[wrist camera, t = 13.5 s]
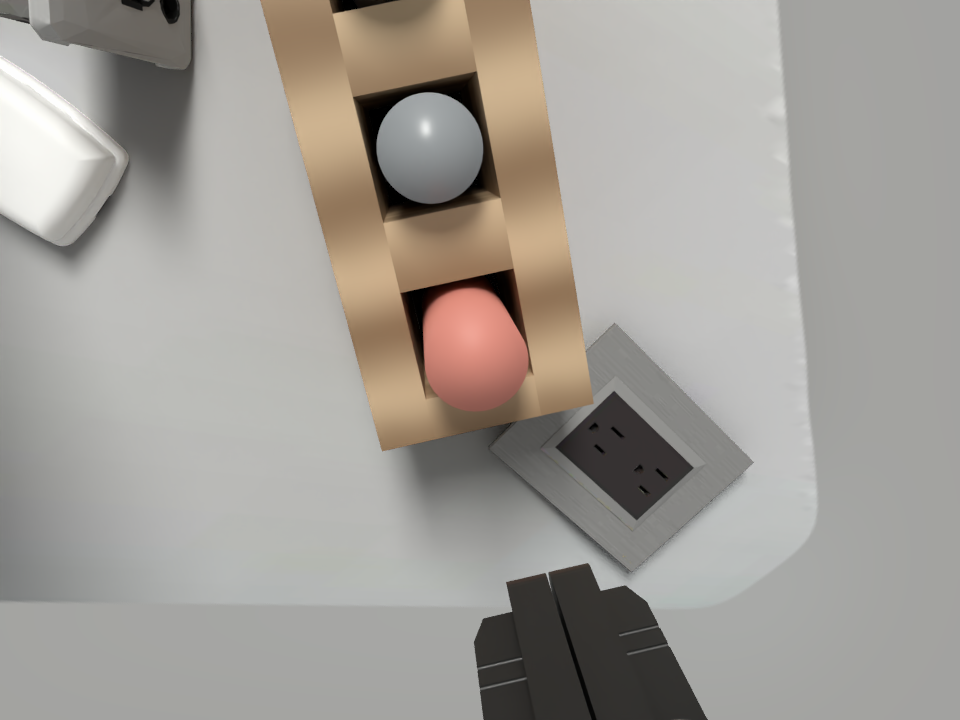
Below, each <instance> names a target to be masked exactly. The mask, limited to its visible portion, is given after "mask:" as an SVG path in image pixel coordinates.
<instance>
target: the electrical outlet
mask: <svg viewBox="0 0 960 720" xmlns="http://www.w3.org/2000/svg"><path fill="white" fill-rule="evenodd" d="M586 358H587V364H588V370H589V377H590V383H591V389H592V395H593V402H594V404H591V405H587V406H582V407H578V408H573V409H569V410H565V411H560V412H556V413H551V414H547V415H542V416H538V417H533V418H529V419H524V420H520V421H515V422H513V423H512V424H511V425H510V426H509V427H508V428H507V429H506V430H505V431H504V432H503V433H502V434H501V435H500V436H499V437H498V438H497V439H496V440H495V441H494V442H493V443H492V444H491V445H490V446H489V449H490V450H491V451H492V452H493V453H494V454H495V455H497V456H498V457H499V458H500V459H501V460H502V461H503V462H505V463H506V464H507V465H508V466H509V467H510V468H512V469H513V470H514V471H515V472H516V473H517V474H519V475H520V476H521V477H522V478H523V479H524V480H525V481H527V482H528V483H529V484H530V485H531V486H532V487H534V488H535V489H536V490H537V491H538V492H539V493H540V494H542V495H543V496H544V497H545V498H546V499H547V500H549V501H550V502H551V503H552V504H553V505H554V506H556V507H557V508H558V509H559V510H560V511H561V512H562V513H564V514H565V515H566V516H567V517H568V518H569V519H571V520H572V521H573V522H574V523H575V524H576V525H577V526H579V527H580V528H581V529H582V530H583V531H584V532H586V533H587V534H588V535H589V536H590V537H591V538H592V539H594V540H595V541H596V542H597V543H598V544H599V545H601V546H602V547H603V548H604V549H605V550H606V551H608V552H609V553H610V554H611V555H612V556H613V557H614V558H616V559H617V560H618V561H619V562H620V563H621V564H623V565H624V566H625V567H626V568H627V569H628V570H629V571H631V572H633V571H634V570H635V569H636V568H637V567H638V566H639V565H640V564H641V563H643V562H644V561H645V560H646V559H647V558H648V557H649V556H650V555H651V554H653V553H654V552H655V551H656V550H657V549H658V548H659V547H660V546H661V545H663V544H664V543H665V542H666V541H667V540H668V539H669V538H670V537H671V536H673V535H674V534H675V533H676V532H677V531H678V530H679V529H680V528H681V527H683V526H684V525H685V524H686V523H687V522H688V521H689V520H690V519H691V518H693V517H694V516H695V515H696V514H697V513H698V512H699V511H700V510H701V509H703V508H704V507H705V506H706V505H707V504H708V503H709V502H710V501H711V500H713V499H714V498H715V497H716V496H717V495H718V494H719V493H720V492H721V491H723V490H724V489H725V488H726V487H727V486H728V485H729V484H730V483H731V482H733V481H734V480H735V479H736V478H737V477H738V476H739V475H740V474H741V473H743V472H744V471H745V470H746V469H747V468H748V467H749V466H750V465H751V464H753V463H754V462H753V461H752V460H751V459H750V458H749V457H748V456H747V455H746V454H745V453H744V452H743V451H742V450H741V449H740V448H739V447H738V446H737V445H736V444H735V443H734V442H733V441H732V440H731V439H730V438H729V437H728V436H727V435H726V434H725V433H724V432H723V431H722V430H721V429H720V428H719V427H718V426H717V425H716V424H715V423H714V422H713V421H712V420H711V419H710V418H709V417H708V416H707V415H706V414H705V413H704V412H703V411H702V410H701V409H700V408H699V407H698V406H697V405H696V404H695V403H694V402H693V401H692V400H691V399H690V398H689V397H688V396H687V395H686V394H685V393H684V392H683V391H682V390H681V389H680V388H679V387H678V386H677V385H676V384H675V383H674V382H673V381H672V380H671V379H670V378H669V377H668V376H667V375H666V374H665V373H664V372H663V371H662V370H661V369H660V368H659V367H658V366H657V365H656V364H655V363H654V362H653V361H652V360H651V359H650V358H649V357H648V356H647V355H646V353H645V352H644V351H643V350H642V349H641V348H640V347H639V346H638V345H637V344H636V343H635V342H634V341H633V340H632V339H631V338H630V337H629V336H628V335H627V334H626V333H625V332H624V331H623V330H622V329H621V328H620V327H619V326H618V325H617V324H615V323H614V324H613V325H612V326H611V327H610V328H609V329H608V330H607V331H606V332H605V333H604V334H603V335H602V336H601V337H600V338H599V339H598V340H597V341H596V342H595V343H594V344H593V345H592V346H591V347H590V348H589V349H588V350H587V351H586Z"/></svg>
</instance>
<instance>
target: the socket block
mask: <svg viewBox="0 0 960 720" xmlns="http://www.w3.org/2000/svg"><path fill="white" fill-rule="evenodd" d="M260 1H261V5H262V8H263V12H264V16H265V19H266V23H267V27H268V31H269V34H270V38H271V42H272V45H273V49H274V53H275V57H276V60H277V64H278V68H279V71H280V75H281V79H282V82H283V86H284V90H285V94H286V97H287V101H288V105H289V108H290V112H291V116H292V119H293V123H294V127H295V131H296V134H297V138H298V142H299V145H300V149H301V153H302V156H303V160H304V164H305V168H306V171H307V175H308V179H309V182H310V186H311V190H312V194H313V197H314V201H315V205H316V208H317V212H318V216H319V219H320V223H321V227H322V231H323V234H324V238H325V242H326V245H327V249H328V253H329V256H330V260H331V264H332V268H333V271H334V275H335V279H336V282H337V286H338V290H339V294H340V297H341V301H342V305H343V308H344V312H345V316H346V319H347V323H348V327H349V331H350V334H351V338H352V342H353V345H354V349H355V353H356V356H357V360H358V364H359V368H360V371H361V375H362V379H363V382H364V386H365V390H366V394H367V397H368V401H369V405H370V408H371V412H372V416H373V419H374V423H375V427H376V431H377V434H378V438H379V442H380V445H381V449H382V451H386V450H390V449H395V448H399V447H404V446H408V445H413V444H417V443H421V442H426V441H430V440H435V439H439V438H444V437H448V436H453V435H457V434H462V433H466V432H471V431H475V430H480V429H484V428H489V427H493V426H497V425H502V424H506V423H511V422H515V421H520V420H524V419H529V418H533V417H538V416H542V415H547V414H551V413H556V412H560V411H565V410H569V409H573V408H578V407H582V406H587V405H591V404H594V402H593V395H592V389H591V383H590V377H589V370H588V364H587V358H586V351H585V345H584V339H583V333H582V326H581V320H580V314H579V307H578V301H577V295H576V289H575V282H574V276H573V270H572V263H571V257H570V251H569V245H568V238H567V232H566V226H565V219H564V213H563V207H562V201H561V194H560V188H559V182H558V175H557V169H556V163H555V157H554V150H553V144H552V138H551V131H550V125H549V119H548V113H547V106H546V100H545V94H544V87H543V81H542V75H541V69H540V62H539V56H538V50H537V43H536V37H535V31H534V25H533V18H532V12H531V6H530V0H398V1H393V2H388V3H384V4H379V5H374V6H369V7H364V8H359V9H354V10H349V11H345V9H344V5H343V1H342V0H260ZM458 91H460V92H461V97H462V102H463V106H464V107H465V108H466V109H467V110H468V111H469V112H470V113H471V114H472V116H473V117H474V119H475V121H476V122H477V124H478V127H479V129H480V132H481V136H482V141H483V157H482V163H481V166H480V169H479V172H478V174H477V179H478V184H479V186H475V187H471V188H467V189H466V190H465V191H464V192H463V193H461V194H460V195H459V196H457V197H455V198H453V199H451V200H449V201H445V202H442V203H435V204H427V203H420V202H416V201H413V200H410V201H405V202H400V203H395V204H390V200H389V195H388V191H387V187H386V183H385V178H384V174H383V172H382V170H381V168H380V165H379V162H378V157H377V145H376V140H375V136H374V132H373V128H372V123H371V119H370V115H369V111H368V110H372V109H377V108H382V107H387V106H391V105H396V104H397V103H398V102H400V101H401V100H403V99H405V98H407V97H409V96H411V95H415V94H418V93H439V94H443V95H444V94H449V93H454V92H458ZM495 272H496V276H497V282H498V287H499V292H500V297H501V301H502V303H503V305H504V306H505V308H506V310H507V312H508V313H509V315H510V317H511V319H512V320H513V322H514V324H515V326H516V327H517V329H518V331H519V332H520V334H521V336H522V338H523V339H524V342H525V344H526V347H527V351H528V370H527V374H526V377H525V380H524V382H523V384H522V385H521V387H520V389H519V390H518V391H517V393H516V394H515V395H514V396H513V397H512V398H511V399H509V400H508V401H507V402H505V403H504V404H502V405H500V406H498V407H496V408H493V409H490V410H486V411H476V412H473V411H465V410H460V409H458V408H455V407H453V406H451V405H449V404H447V403H446V402H444V401H443V400H442V399H441V398H440V397H438V395H437V394H436V393H435V392H434V390H433V389H432V387H431V386H430V384H429V381H428V379H427V376H426V371H425V358H424V340H423V339H422V335H421V331H420V327H419V322H418V318H417V314H416V310H415V305H414V301H413V297H412V293H411V291H412V290H416V289H421V288H426V287H430V286H435V285H439V284H444V283H449V282H453V281H458V280H462V279H467V278H472V277H476V276H481V275H485V274H490V273H495Z"/></svg>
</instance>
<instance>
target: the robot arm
mask: <svg viewBox="0 0 960 720" xmlns="http://www.w3.org/2000/svg"><path fill="white" fill-rule="evenodd" d="M549 580H550V585H551V588H550V585H549V582H548V579H547V576H546V573H544V574H540V575H535V576H531V577H527V578H522V579H518V580H514V581H509V582H506V584H507V588H508V593H509V598H510V602H511V607H512V612H510V613H505V614H501V615H497V616H492V617H488V618H484V619H483V620H482V623H481V626H480V629H479V631H478V633H477V636H476V638H475V641H474V645H475V654H476V662H477V669H478V678H479V686H480V694H481V702H482V710H483V719H484V720H708V719H707V718H706V716H705V714H704V712H703V710H702V708H701V706H700V705H699V703H698V701H697V699H696V697H695V695H694V693H693V691H692V689H691V687H690V685H689V683H688V681H687V679H686V677H685V675H684V674H683V672H682V670H681V668H680V666H679V664H678V662H677V660H676V658H675V656H674V654H673V652H672V650H671V648H670V647H669V646H668V643H667V640H666V638H665V637H664V635H663V633H662V631H661V629H660V628H659V626H658V623H657V621H656V619H655V617H654V615H653V613H652V611H651V609H650V607H649V605H648V603H647V602H646V601H645V600H644V599H642V598H641V597H640V596H638V595H637V594H636V593H634V592H633V591H632V590H631V589H629V588H628V587H627V586H621V587H616V588H612V589H608V590H603V591H600V589H599V586H598V584H597V582H596V579H595V577H594V574H593V572H592V570H591V567H590V565H589V564H588V563H586V564H582V565H578V566H573V567H569V568H565V569H561V570H556V571H552V572H549ZM551 590H552V592H551Z"/></svg>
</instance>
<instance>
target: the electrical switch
mask: <svg viewBox="0 0 960 720" xmlns="http://www.w3.org/2000/svg"><path fill="white" fill-rule="evenodd" d="M3 13H8V14H3ZM0 17H4V18H8V19H12V20H16V21H20V22H24V23H28V24H31V26H32V27H33V28H34V30H35V31H36V32H37V34H38V35H39V36H40V38H41V39H42V40H45V41H49V42H53V43H57V44H62V45H66V46H69V44H76V45H80V46H85V47H89V48H93V49H98V50H102V51H106V52H110V53H115V54H119V55H123V56H127V57H132V58H136V59H140V60H144V61H149V62H153V63H156V66H158V67H162V68H167V69H186V68H187V67H188V65H189V63H190V61H191V0H0Z"/></svg>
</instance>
